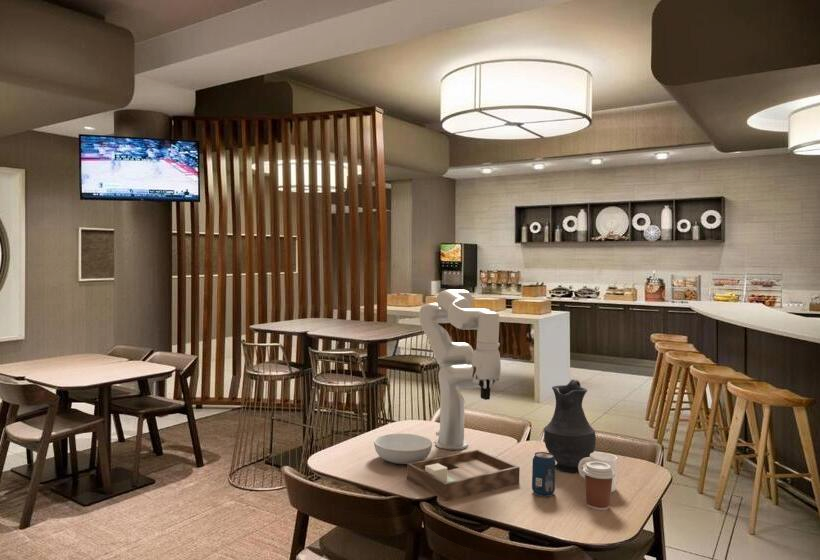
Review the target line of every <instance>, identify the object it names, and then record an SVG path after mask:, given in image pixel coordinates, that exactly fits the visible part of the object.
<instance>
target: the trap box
mask: <svg viewBox="0 0 820 560" xmlns="http://www.w3.org/2000/svg"><path fill="white" fill-rule="evenodd" d="M437 463H439V464H441V465H443V466H445V467H447V481H442V480H440V479H439V478H437V477H435V476H433V475H431V474H429V473H427V472H425V466H427V465H432V464H437ZM406 480H408V481H410V482H411V483H413V484H415V485H417V486H419V487H420V488H422V489H424V490H426V491H427V492H429V493H431V494H433V495H434V496H436V497H437V498H439V499H441V500H443V501H445V502H448V501H451V500H456V499H460V498H463V497H468V496H471V495H472V496H473V495H475V494H479V493H483V492H488V491H490V490H491V491H492V490H495V489H498V488H503V487H507V486H510V485H514V484H518V483H520V466H518V465H516V464H513V463H511V462H508V461H506V460H504V459H501V458H499V457H497V456H494V455H492V454H489V453H486V452H484V451H483V450H479V449H475V450H469V451H464V452H459V453H454V454H449V455H443V456H438V457H434V458H430V459H423V460H421V461H418V462H413V463H408V464H406Z"/></svg>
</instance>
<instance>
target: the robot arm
mask: <svg viewBox="0 0 820 560" xmlns="http://www.w3.org/2000/svg"><path fill="white" fill-rule="evenodd" d="M435 299H436V302H430V303H425V304H423V305H422V306H421V307H420V309H419V313H418V317H419V323H420V326H421V328H422V331H423V332H424V334H425V336H426V338H427V339H428V341H429V343H430V347H431V351H432V353H433V356H434V358H435V361H436V363H437V365H439V366H441V368H439V371H438V383H439V392H440V393H439V395H440V404H439V405H440V408H439V409H440V413H439V430H438V431H435V435H436V436H437V437H438V439H437V440H436V441H435V446H436V447H438V448H439V449H443V450H449V451H450V450H451V451H454V450H455V451H459V450H464V449H466V448H468V446H469V445H468V444H469V442H468V441H467V440H465V417H466V416H465V413H466V412H465V409H466V407H465V406H466V405H465V404H466V403H465V398H464V395H463V394H462V393H461V392H460V390H462V389H463V390H464V389H467V390H468V389H476V388H479V387H480V399H483V400H485V401H486V400H491V399H490V398H491V388H492V387H493V386H494V384H495V383H496V382H499V380H500V379H499V378H500V377H501V370H502V369H501V367H502V366H501V365H502V364H501V363H502V362H501V355H500V351H499V347H501V343H500V342H499V339H500V338H499V337H500V335H499V334H500V314H499V313H498V312H497V311H494V310H492V311H491V310H490V309H488V308H472V306H473V304H474V303H473V302H474V299H473V295H472V294H471V292H470V291H468V290H466V289H445V290H442V291H440V292H439V293H438V294H437V296H436V298H435ZM440 324H451V325H452V326H453V327H454V328H456V329H459V330H467V331H468V330H476V349H475V350H474V349H473V347H472V345H470V344H469V343H467V342H463V341H462V342H461V341H460V342H459V341H458V342H455V341H453V340H452V339H451V337H450V334H449V333H448V330H446V329H445V328H444V327H443V326H442V325H440Z"/></svg>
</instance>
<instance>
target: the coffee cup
mask: <svg viewBox="0 0 820 560" xmlns="http://www.w3.org/2000/svg"><path fill="white" fill-rule="evenodd" d="M611 468H612V467H611V466H610V465H609V464H606V463H603V462H595V461H594V462H586V465H585V466H583V473H584V474H585V479H584V480H585V481H584V482H585V485H584V486H585V499H586V500H585V501H586V507H589V508H590V509H592V510H596V511H607V510H609V509H610V503H611V495H612V494H611V493H612V492H611V487H612V478H614V476H615V472H614V471H613V470H612V469H611Z"/></svg>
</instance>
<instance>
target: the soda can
mask: <svg viewBox="0 0 820 560" xmlns="http://www.w3.org/2000/svg"><path fill="white" fill-rule="evenodd" d="M555 465H556V460H555V459H554V455H553V454H551V453H549V452H548V451H547V452H546V451H538V452H535V453H534V456H533V458H532V465H531V466H532V470H531V473H532V474H531V489H532V492H533V493H534V494H535V496H539V497H543V498H544V497H545V498H546V497H547V498H548V497H551V496H553V494H554V493H555V491H556V468H555Z"/></svg>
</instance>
